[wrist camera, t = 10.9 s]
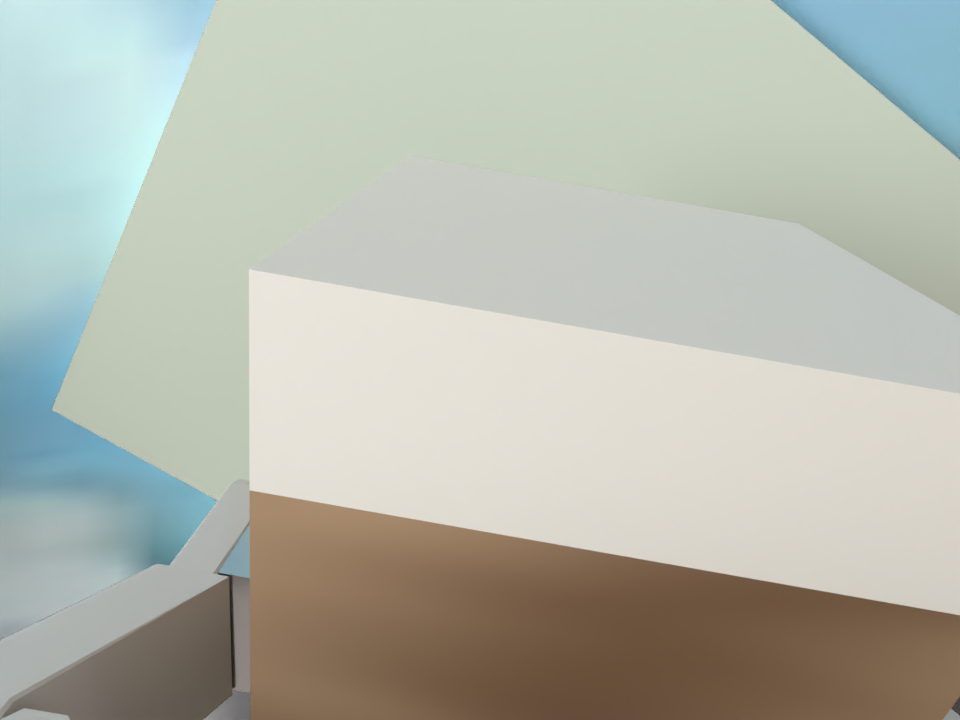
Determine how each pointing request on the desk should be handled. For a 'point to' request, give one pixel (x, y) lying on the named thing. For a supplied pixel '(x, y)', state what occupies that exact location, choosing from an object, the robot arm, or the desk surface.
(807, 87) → the sage mat
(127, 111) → the desk surface
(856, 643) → the walnut block
